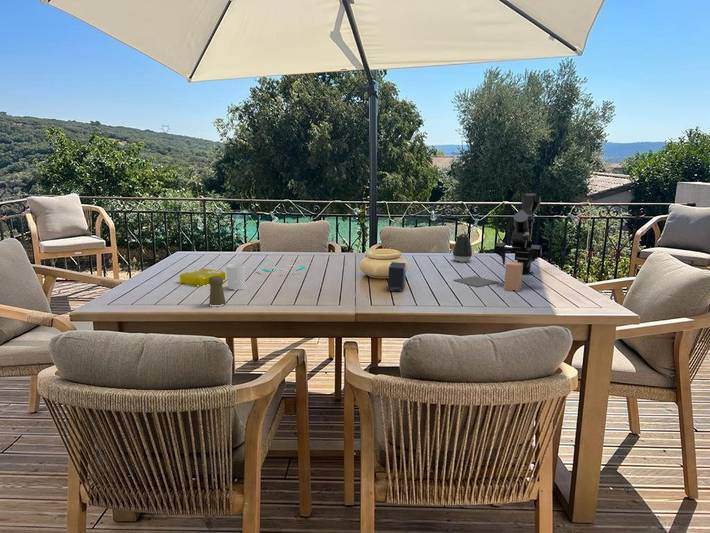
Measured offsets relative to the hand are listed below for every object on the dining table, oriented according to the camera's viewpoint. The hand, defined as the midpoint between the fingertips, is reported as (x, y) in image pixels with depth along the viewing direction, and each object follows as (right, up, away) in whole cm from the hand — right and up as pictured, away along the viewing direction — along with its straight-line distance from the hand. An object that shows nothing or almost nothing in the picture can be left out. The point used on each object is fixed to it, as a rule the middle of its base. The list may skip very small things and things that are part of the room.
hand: (514, 265), depth 196 cm
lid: (-103, -3, +37) cm, 110 cm away
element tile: (-136, -8, +14) cm, 137 cm away
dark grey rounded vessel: (-9, +2, +57) cm, 58 cm away
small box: (-50, -10, +1) cm, 51 cm away
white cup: (-118, -10, +1) cm, 118 cm away
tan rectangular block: (-1, -10, +1) cm, 10 cm away
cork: (-119, -15, -22) cm, 122 cm away
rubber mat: (-13, -7, +13) cm, 20 cm away
